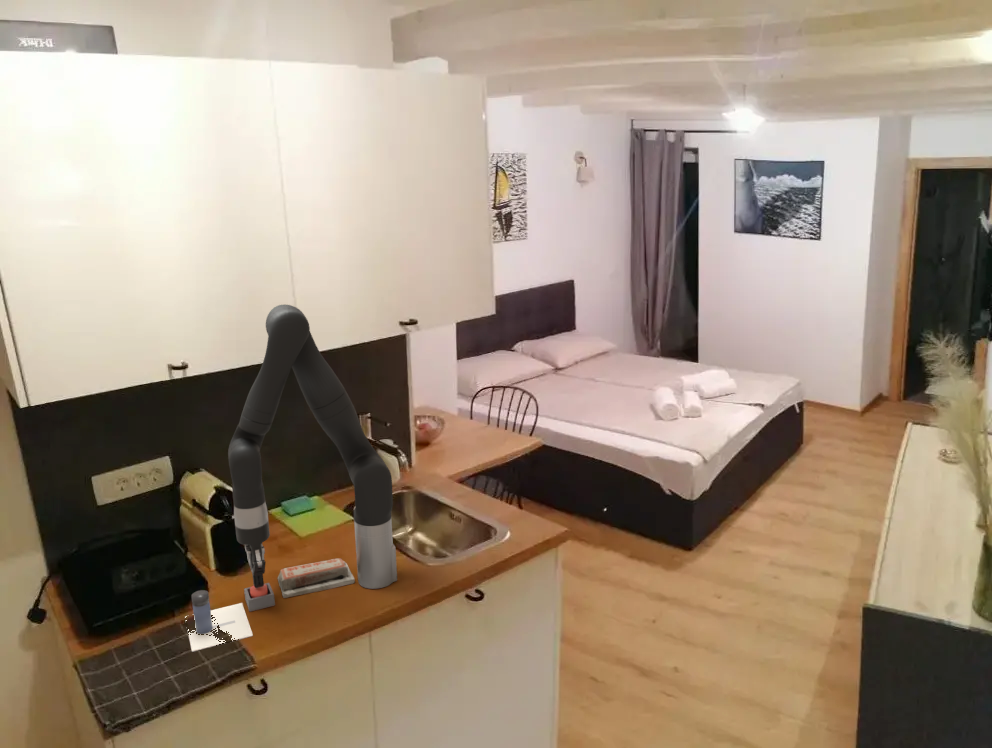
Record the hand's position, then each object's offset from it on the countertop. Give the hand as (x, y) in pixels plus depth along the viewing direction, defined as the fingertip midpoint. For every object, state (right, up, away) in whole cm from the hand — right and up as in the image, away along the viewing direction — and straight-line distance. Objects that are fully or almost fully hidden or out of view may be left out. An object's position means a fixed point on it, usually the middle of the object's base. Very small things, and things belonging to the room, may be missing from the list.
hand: (258, 585), depth 190 cm
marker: (-10, -7, -10) cm, 16 cm away
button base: (0, -4, +1) cm, 5 cm away
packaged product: (+12, -2, +11) cm, 16 cm away
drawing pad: (-7, -7, -9) cm, 13 cm away
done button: (0, -4, +1) cm, 4 cm away
